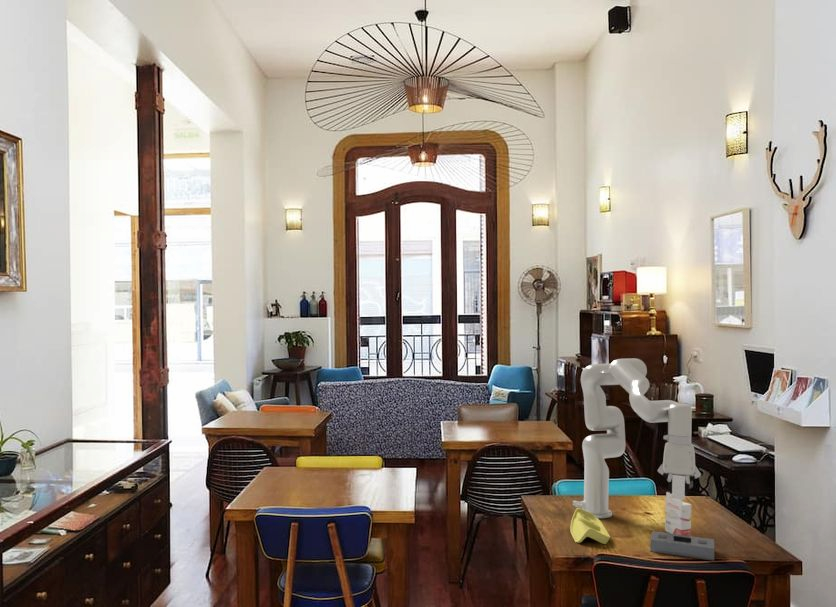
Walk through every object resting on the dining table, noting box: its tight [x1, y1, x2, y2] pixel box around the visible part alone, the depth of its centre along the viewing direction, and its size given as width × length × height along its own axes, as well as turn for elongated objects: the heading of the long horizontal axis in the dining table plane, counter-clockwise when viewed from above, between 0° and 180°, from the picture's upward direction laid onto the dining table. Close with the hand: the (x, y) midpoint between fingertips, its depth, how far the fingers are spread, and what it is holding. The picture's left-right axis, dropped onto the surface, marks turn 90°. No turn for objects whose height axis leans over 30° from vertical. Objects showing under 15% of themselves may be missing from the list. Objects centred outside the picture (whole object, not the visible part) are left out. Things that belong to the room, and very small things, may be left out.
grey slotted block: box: [649, 530, 715, 562], centre depth 240 cm, size 20×10×4 cm, turn 68°
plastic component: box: [569, 507, 611, 545], centre depth 254 cm, size 20×7×10 cm
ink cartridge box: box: [664, 491, 692, 536], centre depth 258 cm, size 9×5×15 cm, turn 23°
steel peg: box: [671, 474, 686, 501], centre depth 240 cm, size 4×4×8 cm
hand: (678, 493), depth 240 cm, fingers closed on steel peg, 4 cm apart
